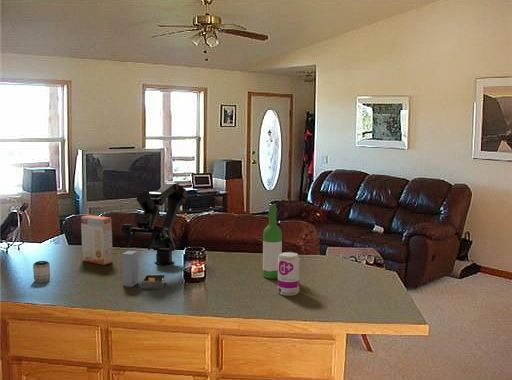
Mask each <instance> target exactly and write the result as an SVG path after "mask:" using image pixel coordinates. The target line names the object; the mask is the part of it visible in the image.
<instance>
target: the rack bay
mask: <svg viewBox="0 0 512 380" xmlns="http://www.w3.org/2000/svg"><path fill="white" fill-rule="evenodd" d="M164 283H166V274H145V275H144V276H143V278H142V280H141V282H140V285H141V290H163V288H164V285H165V284H164Z"/></svg>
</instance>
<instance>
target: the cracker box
mask: <svg viewBox="0 0 512 380" xmlns="http://www.w3.org/2000/svg"><path fill="white" fill-rule="evenodd" d="M80 219H81V220H80V227H81V254H82V256H81V258H82V262H86V263H92V264H97V265H102V266H106V265H108V264H112V263H113V261H114V260H113V230H112V229H113V227H112V226H113V225H112V222H113V221H112V220H113V219H112V217H107V216H102V215H101V216H100V215H94V214H93V215H92V214H87V215H82V216H80Z"/></svg>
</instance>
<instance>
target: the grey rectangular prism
mask: <svg viewBox="0 0 512 380" xmlns="http://www.w3.org/2000/svg"><path fill="white" fill-rule="evenodd" d="M121 255H122V256H121V259H122V260H121V263H122V264H121V265H122V286H123V287H131V288H133V287H134V286H135V285H138V283H139V271H138V270H139V268H138V266H139V265H138V263H139V262H138V261H139V260H138V251H137V250H126V251H125V252H122V253H121Z"/></svg>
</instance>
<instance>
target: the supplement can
mask: <svg viewBox="0 0 512 380" xmlns="http://www.w3.org/2000/svg"><path fill="white" fill-rule="evenodd" d="M300 262H301V259H300V256H299V254H298V253H297V252H293V251H285V252H282V253H280V255H279V257H278V278H277V292H278V293H279V294H280V295H282V296H284V297H285V296H286V297H287V296H288V297H292V296H296V295H298V293H300V273H301V272H300V268H301V266H300Z"/></svg>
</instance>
